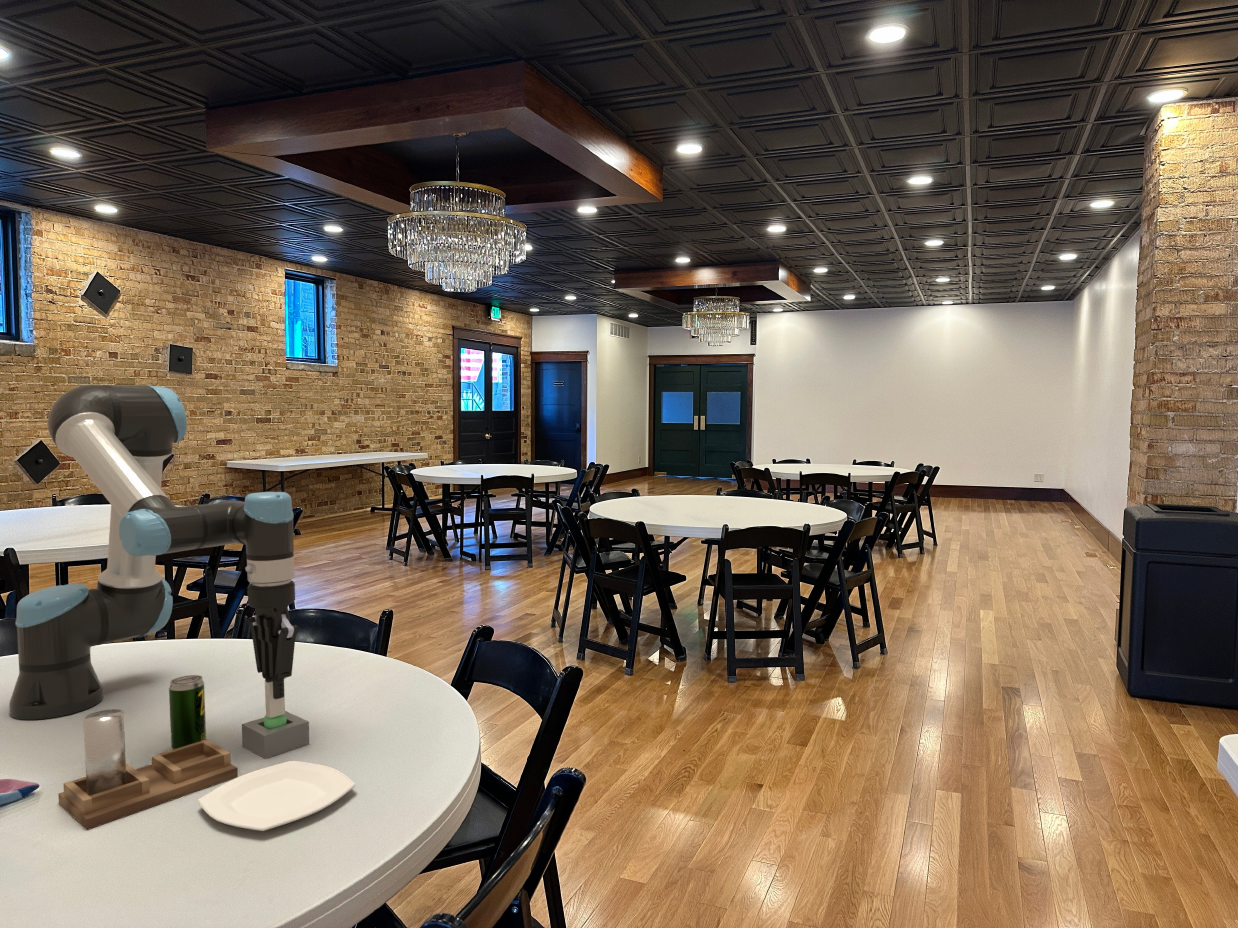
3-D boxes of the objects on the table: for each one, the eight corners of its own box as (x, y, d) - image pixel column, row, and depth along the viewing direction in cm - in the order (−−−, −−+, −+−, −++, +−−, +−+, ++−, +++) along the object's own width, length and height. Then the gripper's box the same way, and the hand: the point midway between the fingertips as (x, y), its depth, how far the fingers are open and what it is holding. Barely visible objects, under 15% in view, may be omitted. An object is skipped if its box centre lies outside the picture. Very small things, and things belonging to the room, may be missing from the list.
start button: (260, 733, 139) (260, 716, 139) (280, 727, 142) (279, 710, 142) (270, 738, 137) (270, 721, 137) (290, 732, 140) (290, 715, 140)
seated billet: (81, 795, 118) (78, 716, 117) (119, 783, 122) (116, 706, 121) (94, 805, 115) (90, 724, 114) (132, 793, 119) (129, 714, 118)
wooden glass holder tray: (58, 803, 119) (57, 780, 119) (204, 756, 135) (203, 736, 135) (87, 829, 111) (86, 805, 111) (237, 776, 128) (237, 755, 127)
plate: (259, 852, 106) (259, 837, 106) (179, 814, 116) (178, 801, 116) (373, 794, 122) (373, 781, 122) (294, 765, 133) (293, 753, 132)
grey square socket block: (242, 746, 139) (241, 723, 139) (286, 732, 145) (285, 710, 145) (265, 758, 134) (264, 735, 134) (309, 743, 140) (308, 721, 140)
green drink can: (172, 756, 135) (170, 686, 134) (170, 745, 140) (167, 678, 139) (208, 748, 138) (205, 681, 137) (204, 738, 143) (202, 672, 142)
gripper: (231, 580, 139) (236, 712, 141) (268, 590, 131) (273, 730, 132) (273, 573, 145) (277, 700, 146) (311, 582, 137) (315, 717, 138)
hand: (275, 714), depth 139 cm, fingers closed
